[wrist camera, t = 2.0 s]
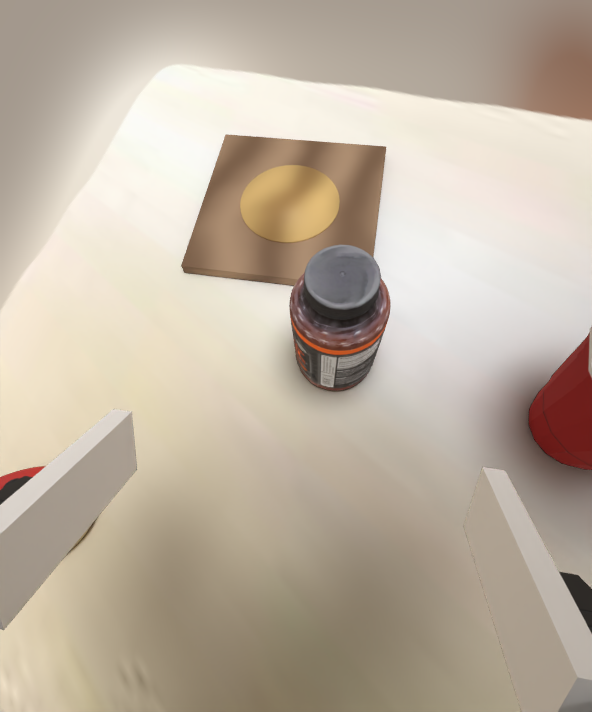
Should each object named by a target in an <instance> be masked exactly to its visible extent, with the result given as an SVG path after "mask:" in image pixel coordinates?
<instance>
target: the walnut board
mask: <svg viewBox="0 0 592 712" xmlns="http://www.w3.org/2000/svg"><path fill="white" fill-rule="evenodd" d="M385 154H386V147H383V146H370V145H357V144H344V143H330V142H317V141H304V140H291V139H277V138H264V137H251V136H238V135H225V138H224V141H223V144H222V147H221V150H220V153H219V156H218V159H217V162H216V165H215V168H214V171H213V174H212V177H211V180H210V183H209V186H208V188H207V191H206V194H205V197H204V200H203V203H202V206H201V209H200V212H199V215H198V218H197V221H196V224H195V227H194V230H193V233H192V236H191V239H190V242H189V244H188V247H187V250H186V253H185V256H184V259H183V262H182V265H181V266H182V268H183V270H184V272H185V273H192V274H201V275H209V276H218V277H226V278H235V279H243V280H251V281H260V282H268V283H277V284H285V285H293V286H294V285H295V284H296V282H297V280H298V279H299V278H300V277H301V275H302V274H303V273H304V272H305V269H306V266H307V264H308V262H309V261H310V259H311V258H312V257H313V256H314V255H315V254H316V253H317V252H319V251H321V250H322V249H324V248H327V247H330V246H334V245H350V246H354V247H358V248H360V249H362V250H364V251H365V252H367V253H368V254H369V255H371V256H372V257H373V254H374V245H375V237H376V229H377V220H378V212H379V204H380V195H381V187H382V179H383V170H384V162H385Z"/></svg>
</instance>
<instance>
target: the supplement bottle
mask: <svg viewBox="0 0 592 712" xmlns="http://www.w3.org/2000/svg"><path fill="white" fill-rule="evenodd" d="M289 307H290V317H291V324H292V331H293V337H294V346H295V353H296V359H297V362H298V365H299V367H300V370H301V371H302V373H303V375H304V376H305V377H306V378H307V379H308V380H309V381H310V382H311V383H312V384H314V385H316V386H318V387H320V388H323V389H327V390H336V391H337V390H344V389H348V388H351V387H353V386H355V385H356V384H358V383H359V382H361V381H362V380H363V379H364V378H365V377H366V376H367V374H368V372H369V370H370V368H371V366H372V364H373V362H374V359H375V356H376V353H377V350H378V347H379V345H380V342H381V339H382V336H383V333H384V331H385V327H386V324H387V321H388V318H389V314H390V297H389V293H388V290H387V287H386V285H385V283H384V282H383V280H382V279H381V274H380V269H379V266H378V265H377V263H376V261H375V260H374V258H373V257H372V256H371V255H369V254H368V253H367V252H365V251H364V250H362V249H360V248H358V247H354V246H350V245H334V246H330V247H327V248H324V249H322V250H321V251H319V252H317V253H316V254H315V255H314V256H313V257H312V258H311V259H310V261H309V262H308V264H307V266H306V269H305V272H304V273H303V274H302V275H301V277H300V278H299V279H298V280H297V282H296V284H295V285H294V288H293V290H292V293H291V297H290V306H289Z"/></svg>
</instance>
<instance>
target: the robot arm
mask: <svg viewBox="0 0 592 712" xmlns="http://www.w3.org/2000/svg"><path fill="white" fill-rule="evenodd" d="M136 470H137V463H136V452H135V440H134V429H133V418H132V412H130V411H124V410H118V409H113V410H112V411H110V412H109V413H108V414H107V415H106V416H104V417H103V418H102V419H101V420H100V421H99V422H97V423H96V424H95V425H94V426H93V427H92V428H90V429H89V430H88V431H87V432H86V433H84V434H83V435H82V436H81V437H80V438H79V439H77V440H76V441H75V442H74V443H73V444H72V445H70V446H69V447H68V448H67V449H66V450H64V451H63V452H62V453H61V454H60V455H59V456H57V457H56V458H55V459H54V460H53V461H51V462H50V463H49V464H48V465H47V466H46V467H44V468H43V469H42V470H41V471H40V472H39V473H37V474H36V475H35V476H34V477H29V476H23V477H21V478H19V479H17V480H15V481H13V482H11V483H9V484H8V485H6V486H4V487H3V488H2V489H1V490H0V629H2V630H5V628H6V627H7V626H8V625H9V624H10V622H11V621H12V620H13V619H14V617H15V616H16V615H17V614H18V613H19V611H20V610H21V609H22V608H23V607H24V605H25V604H26V603H27V602H28V601H29V599H30V598H31V597H32V596H33V595H34V593H35V592H36V591H37V590H38V588H39V587H40V586H41V585H42V584H43V582H44V581H45V580H46V579H47V578H48V576H49V575H50V574H51V573H52V572H53V570H54V569H55V568H56V567H57V566H58V564H59V563H60V562H61V561H62V559H63V558H64V557H65V556H66V555H67V553H68V552H69V551H70V550H71V549H72V547H73V546H74V545H75V544H76V543H77V541H78V540H79V539H80V538H81V537H82V535H83V534H84V533H85V532H86V530H87V529H88V528H89V527H90V526H91V524H92V523H93V522H94V521H95V520H96V518H97V517H98V516H99V515H100V514H101V512H102V511H103V510H104V509H105V508H106V506H107V505H108V504H109V503H110V501H111V500H112V499H113V498H114V497H115V495H116V494H117V493H118V492H119V491H120V489H121V488H122V487H123V486H124V485H125V483H126V482H127V481H128V480H129V479H130V477H131V476H132V475H133V474H134V472H135V471H136ZM464 530H465V533H466V536H467V539H468V542H469V546H470V549H471V552H472V555H473V558H474V562H475V565H476V568H477V571H478V574H479V578H480V581H481V584H482V587H483V590H484V594H485V597H486V600H487V603H488V606H489V610H490V613H491V616H492V619H493V622H494V626H495V629H496V632H497V635H498V638H499V642H500V645H501V648H502V651H503V654H504V658H505V661H506V664H507V667H508V670H509V674H510V677H511V680H512V683H513V686H514V690H515V693H516V696H517V699H518V702H519V706H520V709H521V712H592V589H591V588H590V587H589V586H588V585H587V584H586V583H585V582H584V581H583V580H582V579H581V578H580V577H579V576H578V575H574V574H568V573H563V572H559V571H558V569H557V567H556V565H555V563H554V562H553V560H552V558H551V556H550V554H549V552H548V550H547V548H546V546H545V545H544V543H543V541H542V539H541V537H540V535H539V533H538V531H537V529H536V528H535V526H534V524H533V522H532V520H531V518H530V516H529V514H528V512H527V511H526V509H525V507H524V505H523V503H522V501H521V499H520V497H519V495H518V494H517V492H516V490H515V488H514V486H513V484H512V482H511V480H510V479H509V477H508V475H507V473H506V471H505V470H499V469H493V468H487V467H482V470H481V473H480V476H479V479H478V482H477V486H476V489H475V492H474V495H473V498H472V501H471V504H470V507H469V510H468V514H467V517H466V520H465V523H464Z"/></svg>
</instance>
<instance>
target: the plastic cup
mask: <svg viewBox="0 0 592 712" xmlns="http://www.w3.org/2000/svg"><path fill="white" fill-rule="evenodd" d="M529 427H530V429H531V432H532V435H533V437H534V440H535V441H536V442H537V443H538V445H539V446H540V447H541V448H542V449H543V451H544V452H545V453H546V454H548V455H549V456H551V457H552V458H554V459H555V460H557V461H559V462H560V463H562V464H566V465H569V466H573V467H577V468H581V469H586V470H592V327H591V328H590V333H589V335H588V336H587V338H586V339H585V340H584V341H583V342H582V343H581V344H580V345H579V346H578V347H577V349H576V350H575V351H574V352H573V353H572V354H571V355H570V356H569V357H568V358H567V360H566V361H565V362H564V363H563V364H562V365H561V366H560V367H559V368H558V369H557V371H556V372H555V373H554V374H553V375H552V377H551V378H550V380H549V382H548V383H547V384H546V385H545V386H544V387H543V388H542V389H541V390H540V391H539V392H538V394H537V396H536V397H535V399H534V401H533V403H532V405H531V407H530V409H529Z"/></svg>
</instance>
